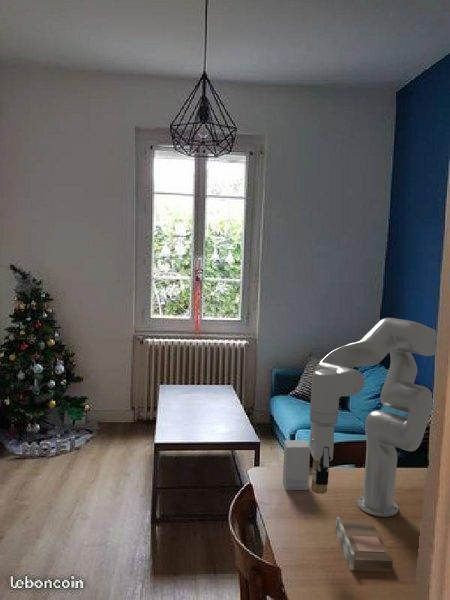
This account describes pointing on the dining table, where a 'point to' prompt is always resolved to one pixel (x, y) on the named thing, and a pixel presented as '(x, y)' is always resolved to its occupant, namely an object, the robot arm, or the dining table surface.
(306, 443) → the skincare box
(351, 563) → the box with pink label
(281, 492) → the dining table surface
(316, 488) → the sprinkles bottle
